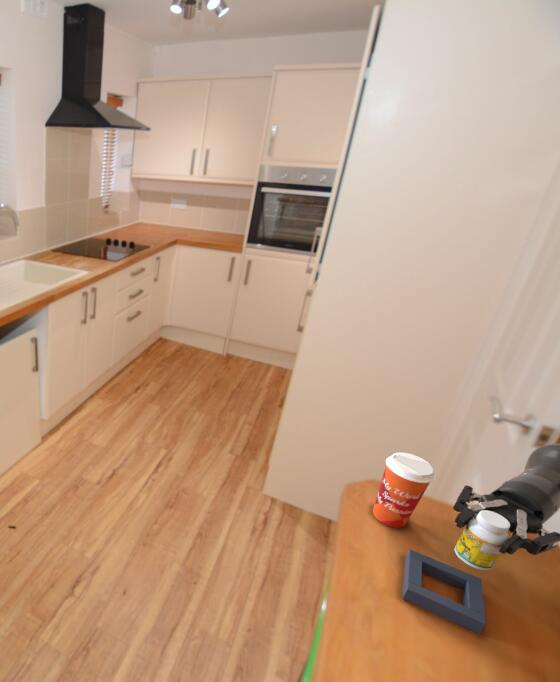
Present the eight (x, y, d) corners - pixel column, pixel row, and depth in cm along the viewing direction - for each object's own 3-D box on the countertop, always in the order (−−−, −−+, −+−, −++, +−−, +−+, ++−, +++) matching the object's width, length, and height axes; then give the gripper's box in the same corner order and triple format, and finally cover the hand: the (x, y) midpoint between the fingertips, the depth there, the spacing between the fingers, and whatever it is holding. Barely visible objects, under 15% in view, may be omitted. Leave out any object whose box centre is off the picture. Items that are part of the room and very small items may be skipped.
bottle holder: (475, 588, 79) (481, 578, 78) (479, 634, 72) (486, 624, 71) (405, 558, 85) (409, 548, 84) (402, 598, 77) (407, 588, 76)
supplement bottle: (498, 575, 78) (523, 535, 74) (459, 565, 80) (481, 526, 76) (484, 550, 83) (507, 512, 79) (448, 541, 85) (469, 503, 80)
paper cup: (361, 515, 94) (382, 462, 88) (373, 497, 98) (394, 445, 92) (406, 539, 89) (432, 483, 82) (417, 518, 93) (442, 465, 87)
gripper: (569, 543, 80) (526, 584, 73) (471, 490, 92) (425, 522, 85) (591, 511, 77) (547, 552, 70) (486, 461, 89) (440, 491, 82)
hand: (481, 535), depth 78 cm, fingers closed on supplement bottle, 5 cm apart
